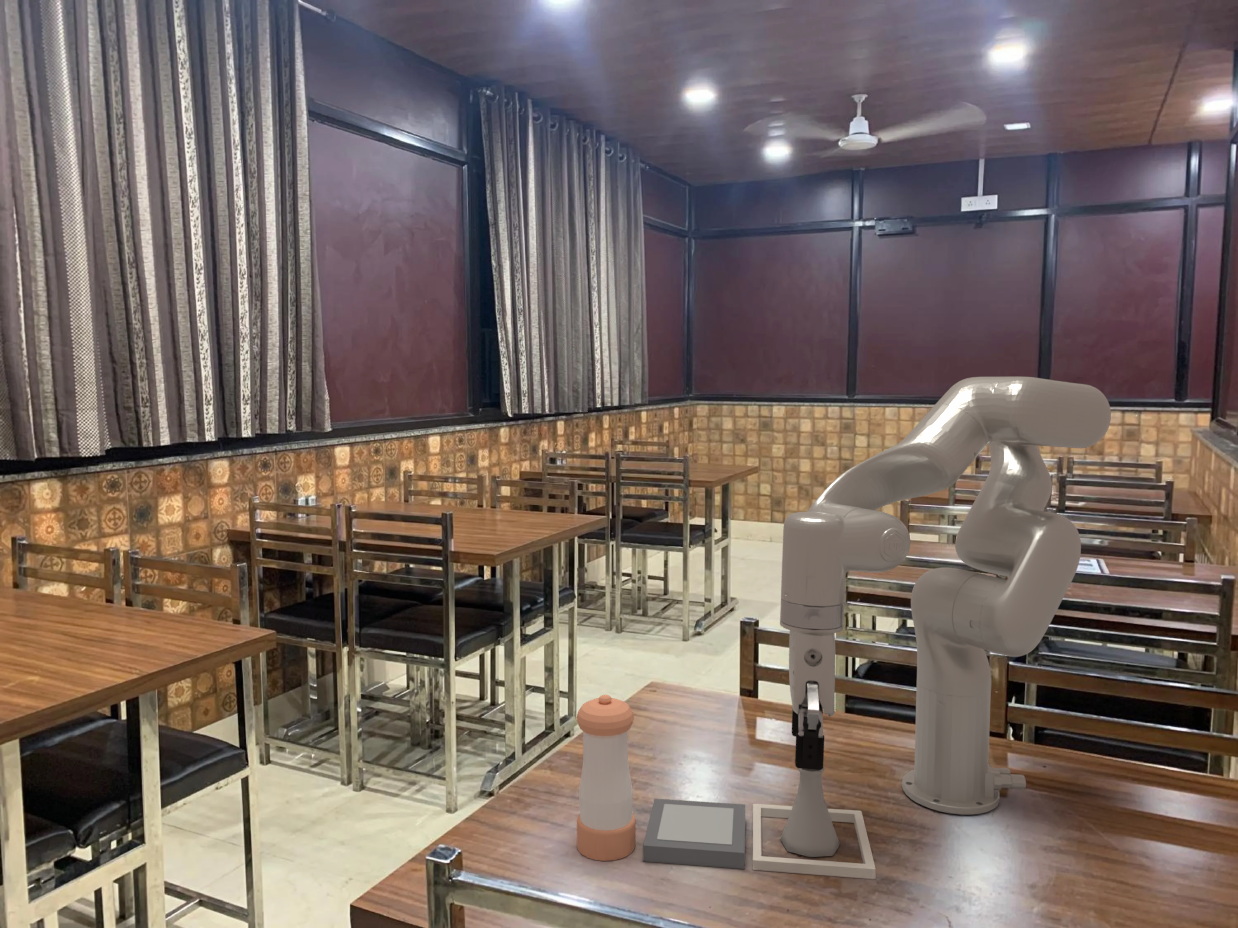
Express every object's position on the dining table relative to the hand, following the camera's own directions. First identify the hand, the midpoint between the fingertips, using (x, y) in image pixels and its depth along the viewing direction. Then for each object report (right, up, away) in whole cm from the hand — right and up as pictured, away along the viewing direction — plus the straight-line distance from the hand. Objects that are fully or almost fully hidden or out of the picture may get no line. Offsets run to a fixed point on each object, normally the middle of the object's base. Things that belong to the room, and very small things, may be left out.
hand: (806, 751), depth 108 cm
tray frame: (+1, -12, +1) cm, 12 cm away
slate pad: (-13, -12, +3) cm, 18 cm away
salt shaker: (-25, -12, +1) cm, 28 cm away
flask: (+1, -12, +2) cm, 12 cm away
